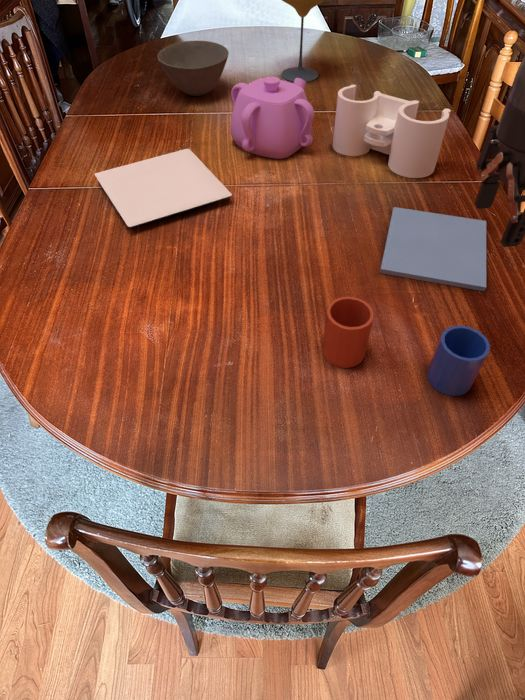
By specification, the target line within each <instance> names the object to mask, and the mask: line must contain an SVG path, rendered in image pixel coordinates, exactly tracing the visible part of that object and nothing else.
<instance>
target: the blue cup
mask: <svg viewBox="0 0 525 700" xmlns="http://www.w3.org/2000/svg"><path fill="white" fill-rule="evenodd" d="M439 337H440V338H439V340H438V343H437V345H436V348H435V351H434V353H433V356H432V359H431V360H430V363H429V366H428V370H427V372H426V373H427V374H426V375H427V376H426V377H427V380H428V383H429V384H430V385H431V387H432V388H433V389H434V390H436V392H439V393H441V394H442V395H446V396H450V397H459V396H462V395H465V394H467V393H468V392H469V391H470V390H471V388H472V387H473V385H474V383H475V381H476V379H477V377H478V375H479V373H480V371H481V370H482V367H483V365H484V363H485V361H486V360H487V358H488V356H489V354H490V351H491V344H490V342H489V340H488V337H487V336H486V335H484V334H483V333H482V332H481V331H479V330H477V329H475V328H473V327H471V326H466V325H452V326H450V327H448V328H445V329H444V331H443V332H442V333H441V335H440V336H439Z"/></svg>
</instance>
